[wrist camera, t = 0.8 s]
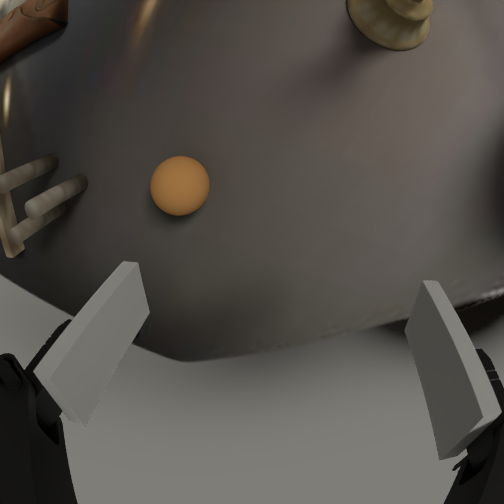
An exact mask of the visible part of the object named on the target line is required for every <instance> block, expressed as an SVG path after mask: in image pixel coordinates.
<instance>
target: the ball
mask: <svg viewBox="0 0 504 504" xmlns="http://www.w3.org/2000/svg"><path fill="white" fill-rule="evenodd" d="M209 187H210V183H209V177H208V174H207V172H206V170H205V169H204V167H203V166H202V165H201V164H200V163H199V162H198V161H196V160H194V159H192V158H190V157H186V156H175V157H171V158H169V159H167V160H165V161H163V162H162V163H161V164H160V165H159V166H158V167H157V168H156V170H155V171H154V173H153V175H152V178H151V182H150V191H151V195H152V198H153V200H154V202H155V203H156V205H157V206H158V207H159V208H160V209H161V210H163V211H164V212H166V213H168V214H171V215H177V216H181V215H187V214H190V213H192V212H194V211H196V210H197V209H198V208H200V207H201V206H202V204H203V203H204V202H205V200H206V198H207V196H208V193H209Z"/></svg>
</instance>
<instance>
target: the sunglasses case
mask: <svg viewBox="0 0 504 504" xmlns="http://www.w3.org/2000/svg"><path fill="white" fill-rule="evenodd" d="M67 20H68V0H27V1H26V2H24V3H23V4H22V5H20V6H18V7H16V8H15V9H13V10H12V11H11V12H10V13H8V14H7V15H6V16H5V17H3V18H2V19H1V20H0V64H1V63H2V62H4V61H5V60H7V59H8V58H9V57H11V56H13V55H14V54H16V53H17V52H19V51H20V50H22V49H23V48H25V47H27V46H28V45H30V44H32V43H34V42H35V41H37V40H39V39H41V38H43V37H44V36H46V35H49V34H51V33H53V32H54V31H56V30H58V29H60V28H62V27H63V26H65V25H66V24H67Z"/></svg>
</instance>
